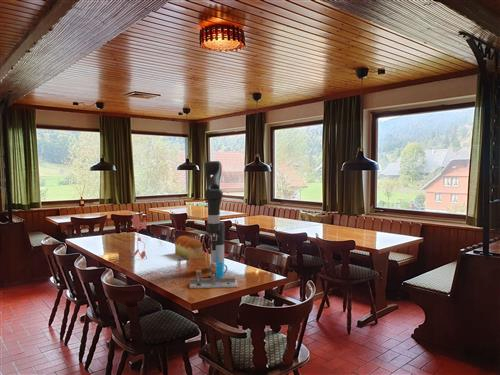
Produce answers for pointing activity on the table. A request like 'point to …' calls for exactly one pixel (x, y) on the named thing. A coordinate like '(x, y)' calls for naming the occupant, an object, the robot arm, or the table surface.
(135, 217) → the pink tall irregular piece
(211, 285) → the pitch gauge
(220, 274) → the mug
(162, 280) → the table surface
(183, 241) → the bread
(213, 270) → the sliding leg
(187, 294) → the table surface
